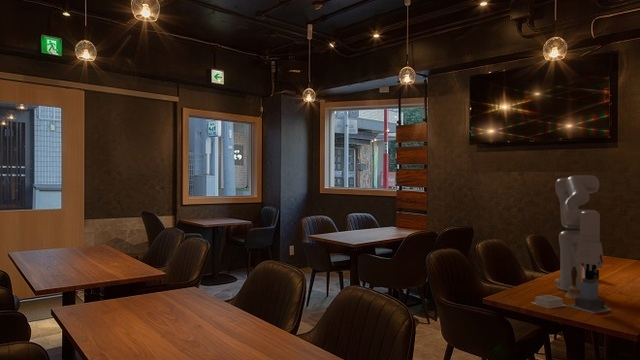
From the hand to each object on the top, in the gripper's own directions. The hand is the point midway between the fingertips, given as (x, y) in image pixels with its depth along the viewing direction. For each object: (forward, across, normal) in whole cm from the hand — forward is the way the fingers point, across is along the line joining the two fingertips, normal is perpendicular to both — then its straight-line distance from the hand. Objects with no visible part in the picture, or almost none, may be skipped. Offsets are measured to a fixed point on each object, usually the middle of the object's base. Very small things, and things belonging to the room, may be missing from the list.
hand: (589, 278), depth 193 cm
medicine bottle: (+14, -41, +59) cm, 73 cm away
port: (+14, 0, 0) cm, 14 cm away
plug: (+12, 0, 0) cm, 13 cm away
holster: (+14, -12, -11) cm, 21 cm away
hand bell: (+14, -16, +11) cm, 24 cm away
